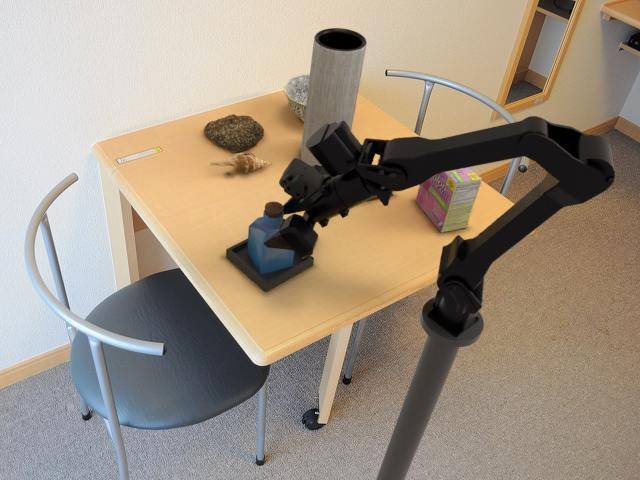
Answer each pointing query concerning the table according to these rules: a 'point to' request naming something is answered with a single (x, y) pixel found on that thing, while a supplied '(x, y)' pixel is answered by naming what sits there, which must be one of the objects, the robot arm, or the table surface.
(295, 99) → the bowl
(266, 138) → the table surface
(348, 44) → the planter
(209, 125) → the bread roll
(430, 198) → the box
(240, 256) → the tray
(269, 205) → the perfume bottle
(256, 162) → the spiral seashell
